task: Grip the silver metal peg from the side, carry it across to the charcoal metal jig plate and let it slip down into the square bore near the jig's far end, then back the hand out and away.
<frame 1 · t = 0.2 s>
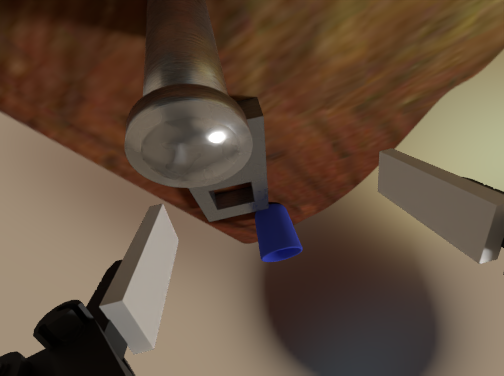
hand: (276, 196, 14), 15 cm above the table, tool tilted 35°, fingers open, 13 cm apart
silver metal peg: (178, 13, 18), on the table
jig: (225, 166, 35), on the table
mug: (270, 212, 53), on the table
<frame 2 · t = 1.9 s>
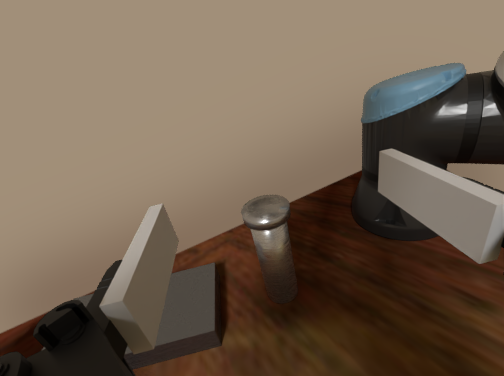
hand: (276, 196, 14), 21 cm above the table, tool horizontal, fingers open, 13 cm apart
silver metal peg: (282, 289, 34), on the table
jig: (143, 326, 33), on the table
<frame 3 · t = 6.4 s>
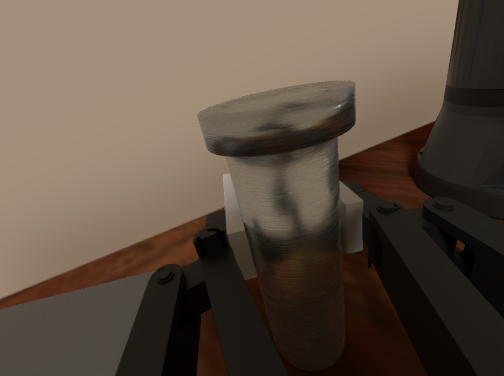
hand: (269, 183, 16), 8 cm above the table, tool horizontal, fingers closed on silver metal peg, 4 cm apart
silver metal peg: (307, 331, 15), on the table, touching gripper
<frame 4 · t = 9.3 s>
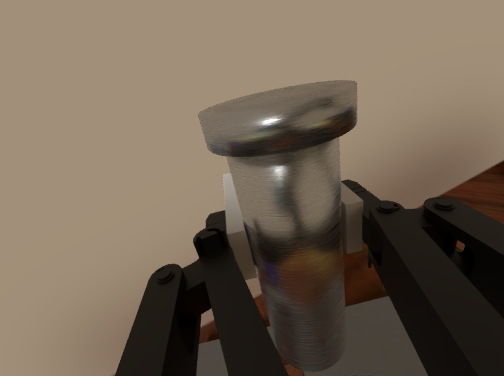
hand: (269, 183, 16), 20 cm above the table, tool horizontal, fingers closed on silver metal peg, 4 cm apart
silver metal peg: (308, 331, 15), point 12 cm above the table, touching gripper
when the fingers open (9 cm above the table, at t = 12.2 s): silver metal peg drops 1 cm, resting in jig.
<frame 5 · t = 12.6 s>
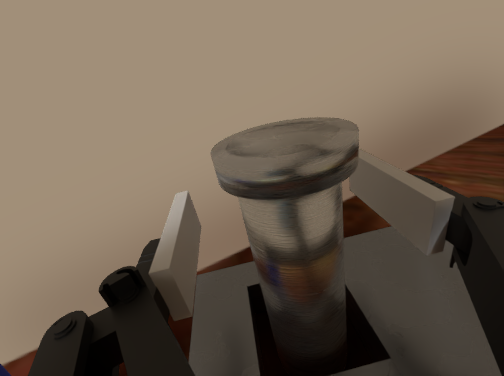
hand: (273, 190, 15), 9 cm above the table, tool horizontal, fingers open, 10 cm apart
silver metal peg: (310, 346, 16), resting in jig
jig: (368, 329, 16), on the table
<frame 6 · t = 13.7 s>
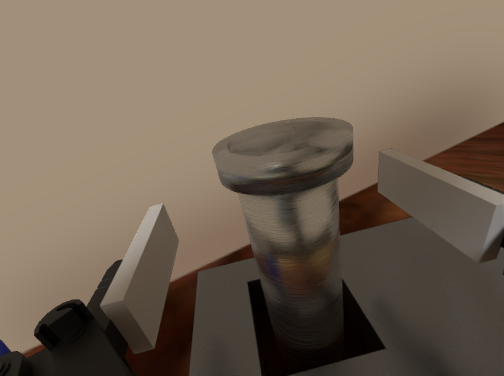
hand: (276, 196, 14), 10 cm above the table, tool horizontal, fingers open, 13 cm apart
silver metal peg: (309, 339, 16), resting in jig
jig: (364, 322, 16), on the table
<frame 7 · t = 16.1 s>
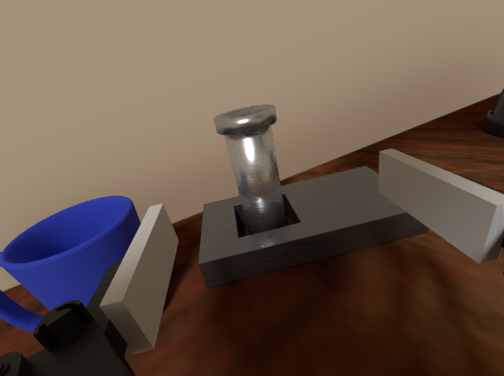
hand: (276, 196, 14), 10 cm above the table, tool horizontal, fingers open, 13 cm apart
silver metal peg: (268, 235, 28), resting in jig
jig: (301, 226, 28), on the table
mug: (109, 323, 21), on the table
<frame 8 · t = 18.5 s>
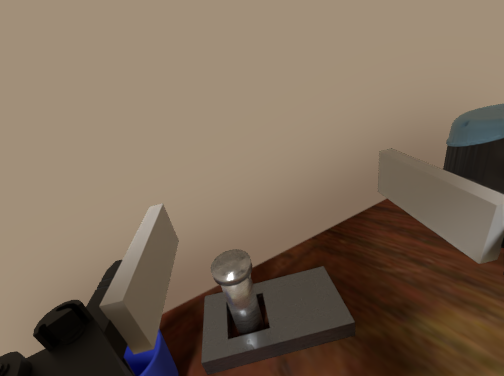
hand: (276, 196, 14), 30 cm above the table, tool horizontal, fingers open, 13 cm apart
silver metal peg: (250, 326, 39), resting in jig
jig: (273, 319, 39), on the table
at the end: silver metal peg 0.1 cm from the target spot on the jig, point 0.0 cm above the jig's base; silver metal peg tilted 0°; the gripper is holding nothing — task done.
